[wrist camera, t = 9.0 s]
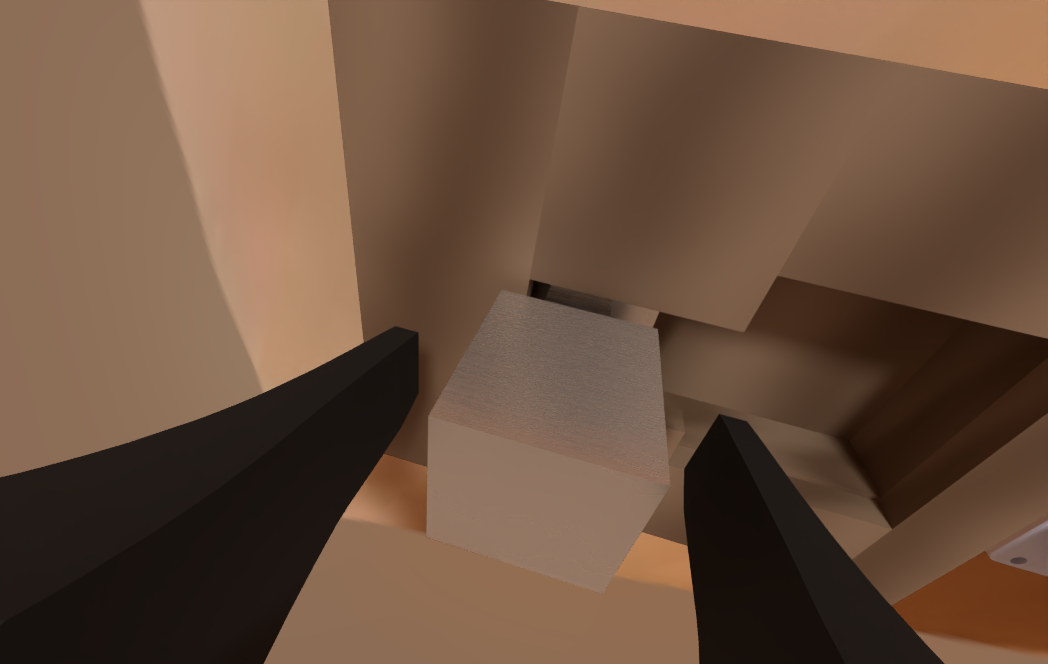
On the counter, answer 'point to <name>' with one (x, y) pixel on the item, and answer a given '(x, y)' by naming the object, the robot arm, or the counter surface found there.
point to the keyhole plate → (727, 246)
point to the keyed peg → (551, 436)
